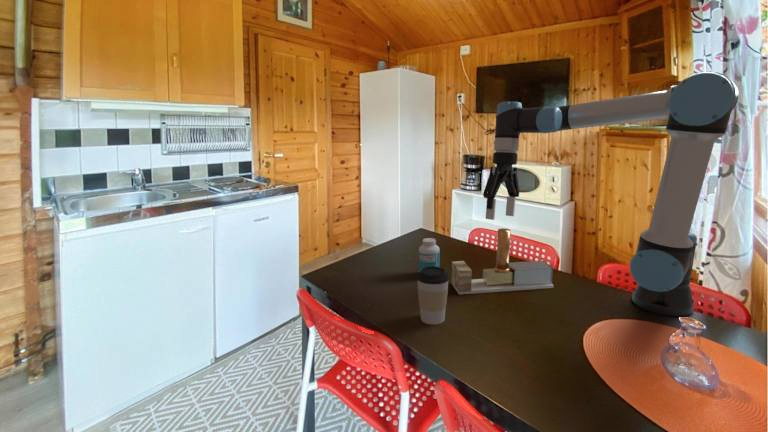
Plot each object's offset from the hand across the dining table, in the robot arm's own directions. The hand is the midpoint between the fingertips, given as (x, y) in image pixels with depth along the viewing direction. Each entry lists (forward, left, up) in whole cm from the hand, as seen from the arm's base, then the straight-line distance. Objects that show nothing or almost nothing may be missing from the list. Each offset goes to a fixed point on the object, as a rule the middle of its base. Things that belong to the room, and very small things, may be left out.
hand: (500, 217), depth 135 cm
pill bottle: (+11, +21, -24) cm, 34 cm away
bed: (-2, -1, -23) cm, 23 cm away
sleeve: (-2, -10, -23) cm, 26 cm away
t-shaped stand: (-2, -5, -22) cm, 22 cm away
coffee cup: (-21, +27, -24) cm, 42 cm away
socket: (-2, +13, -23) cm, 27 cm away
